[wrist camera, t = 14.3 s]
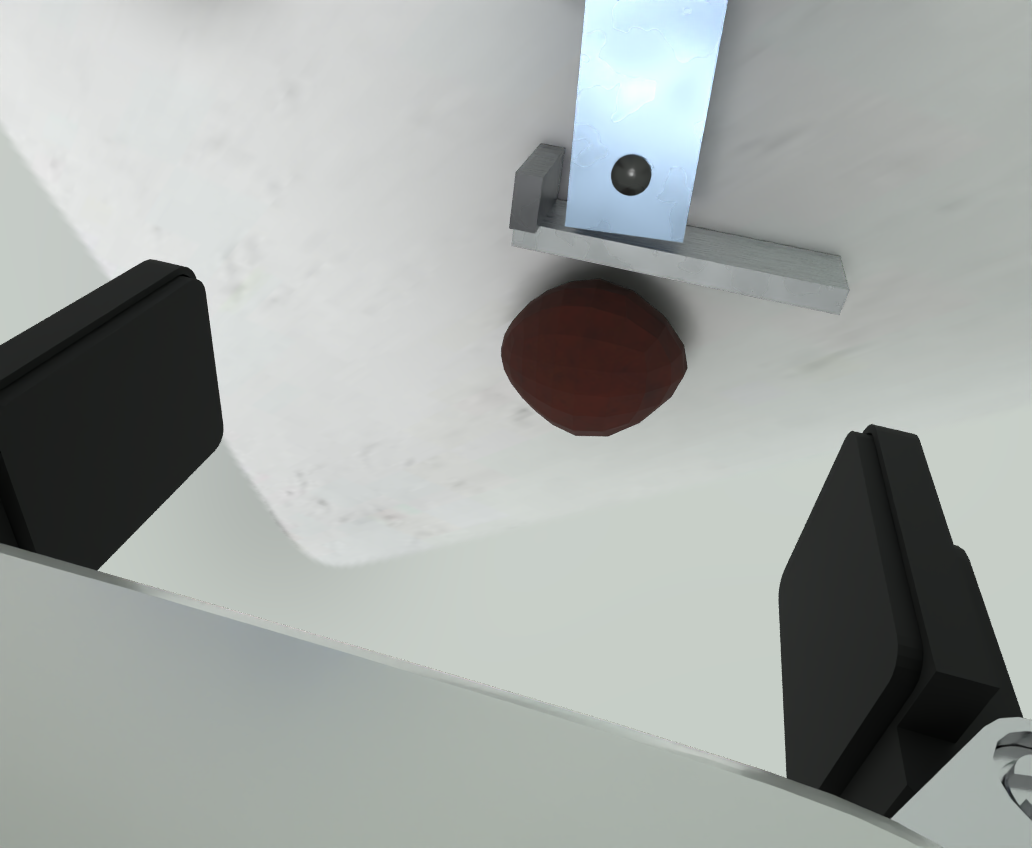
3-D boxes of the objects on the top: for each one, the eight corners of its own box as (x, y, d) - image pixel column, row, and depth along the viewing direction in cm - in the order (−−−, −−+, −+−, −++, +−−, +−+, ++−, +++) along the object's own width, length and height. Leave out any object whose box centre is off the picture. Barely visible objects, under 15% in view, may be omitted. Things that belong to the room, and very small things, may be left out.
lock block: (735, -47, 31) (735, -38, 26) (690, 198, 36) (682, 244, 31) (613, -56, 32) (589, -49, 27) (587, 185, 37) (564, 227, 32)
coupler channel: (969, -74, 28) (1006, -72, 24) (830, 279, 37) (841, 324, 33) (577, -131, 30) (552, -137, 26) (530, 217, 39) (506, 253, 35)
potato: (523, 243, 40) (483, 305, 33) (704, 266, 38) (697, 336, 32) (517, 376, 44) (480, 452, 38) (678, 402, 43) (667, 486, 36)
